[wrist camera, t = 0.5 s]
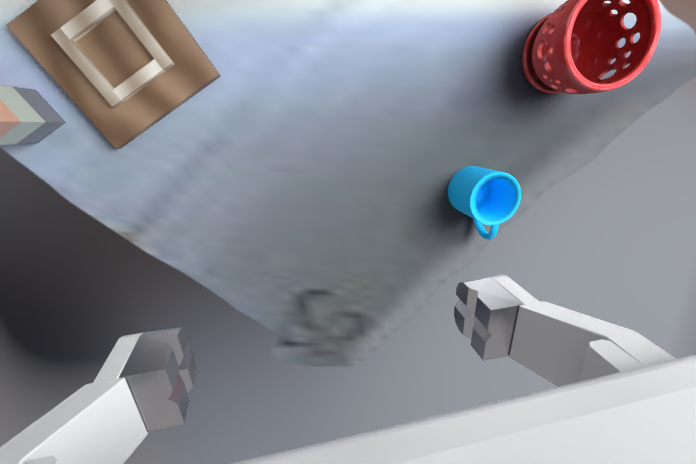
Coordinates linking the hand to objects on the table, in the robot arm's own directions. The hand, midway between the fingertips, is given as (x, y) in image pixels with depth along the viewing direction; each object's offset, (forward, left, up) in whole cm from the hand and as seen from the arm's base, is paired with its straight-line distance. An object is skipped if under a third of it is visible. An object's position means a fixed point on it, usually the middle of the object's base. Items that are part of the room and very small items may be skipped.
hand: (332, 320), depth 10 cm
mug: (+7, +28, -46) cm, 55 cm away
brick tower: (-8, -37, -46) cm, 59 cm away
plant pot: (-16, +39, -46) cm, 63 cm away
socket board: (-16, -24, -46) cm, 54 cm away
